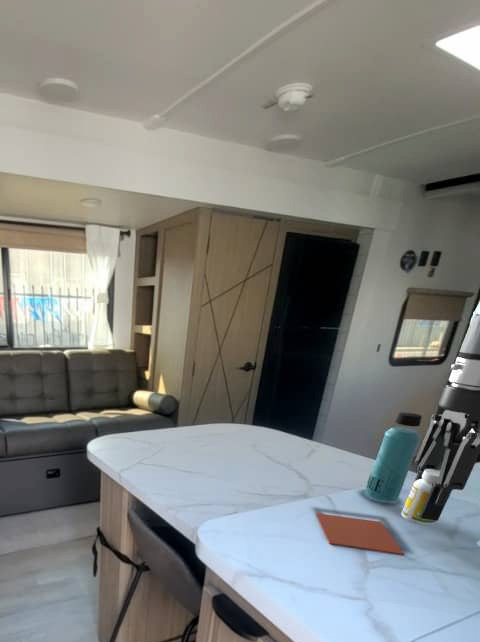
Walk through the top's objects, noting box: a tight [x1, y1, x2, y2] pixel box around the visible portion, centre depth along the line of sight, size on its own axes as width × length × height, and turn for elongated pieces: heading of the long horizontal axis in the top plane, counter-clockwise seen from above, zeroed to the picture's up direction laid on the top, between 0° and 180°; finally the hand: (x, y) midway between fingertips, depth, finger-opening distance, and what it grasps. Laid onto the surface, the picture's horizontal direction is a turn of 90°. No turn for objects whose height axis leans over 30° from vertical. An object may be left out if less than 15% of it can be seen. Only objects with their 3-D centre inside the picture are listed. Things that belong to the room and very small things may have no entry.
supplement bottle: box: [401, 469, 441, 526], centre depth 75 cm, size 5×5×10 cm
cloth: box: [315, 512, 405, 556], centre depth 78 cm, size 12×12×1 cm
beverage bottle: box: [365, 411, 423, 503], centre depth 86 cm, size 6×7×20 cm
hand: (421, 511), depth 77 cm, fingers closed on supplement bottle, 5 cm apart
